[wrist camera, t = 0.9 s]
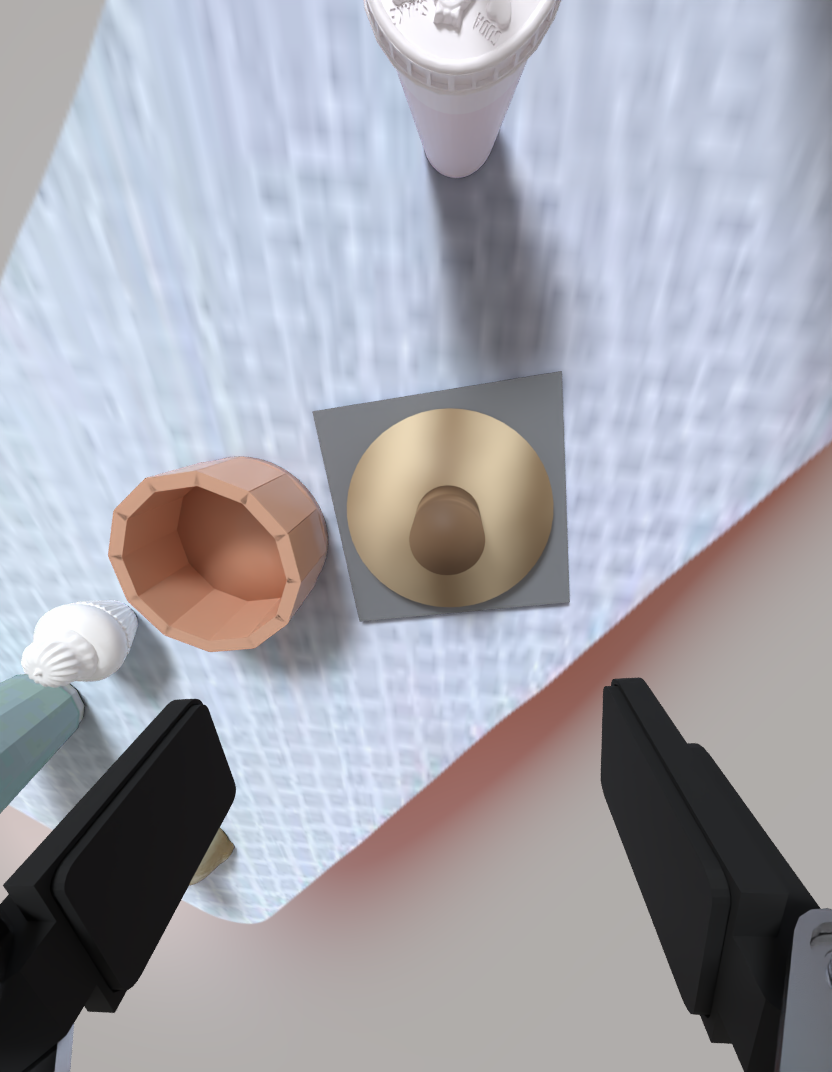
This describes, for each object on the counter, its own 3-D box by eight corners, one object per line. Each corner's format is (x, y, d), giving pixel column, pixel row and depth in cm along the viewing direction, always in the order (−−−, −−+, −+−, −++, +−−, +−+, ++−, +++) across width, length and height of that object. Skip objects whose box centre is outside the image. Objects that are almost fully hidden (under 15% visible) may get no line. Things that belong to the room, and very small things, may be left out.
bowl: (307, 445, 26) (268, 459, 21) (342, 595, 30) (317, 643, 24) (154, 468, 28) (78, 487, 22) (205, 609, 31) (151, 657, 26)
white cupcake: (75, 630, 33) (-19, 689, 26) (88, 569, 31) (-9, 617, 24) (146, 662, 34) (72, 728, 27) (165, 605, 31) (89, 661, 25)
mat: (559, 371, 24) (561, 371, 23) (567, 598, 28) (569, 602, 28) (314, 411, 26) (312, 411, 25) (361, 618, 30) (359, 621, 30)
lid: (544, 392, 24) (570, 391, 18) (554, 590, 28) (577, 636, 23) (331, 425, 25) (300, 434, 20) (370, 608, 29) (352, 654, 24)
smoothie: (540, 63, 19) (732, -637, 6) (502, 222, 22) (582, -45, 8) (409, 33, 19) (323, -728, 6) (384, 195, 22) (280, -115, 8)
